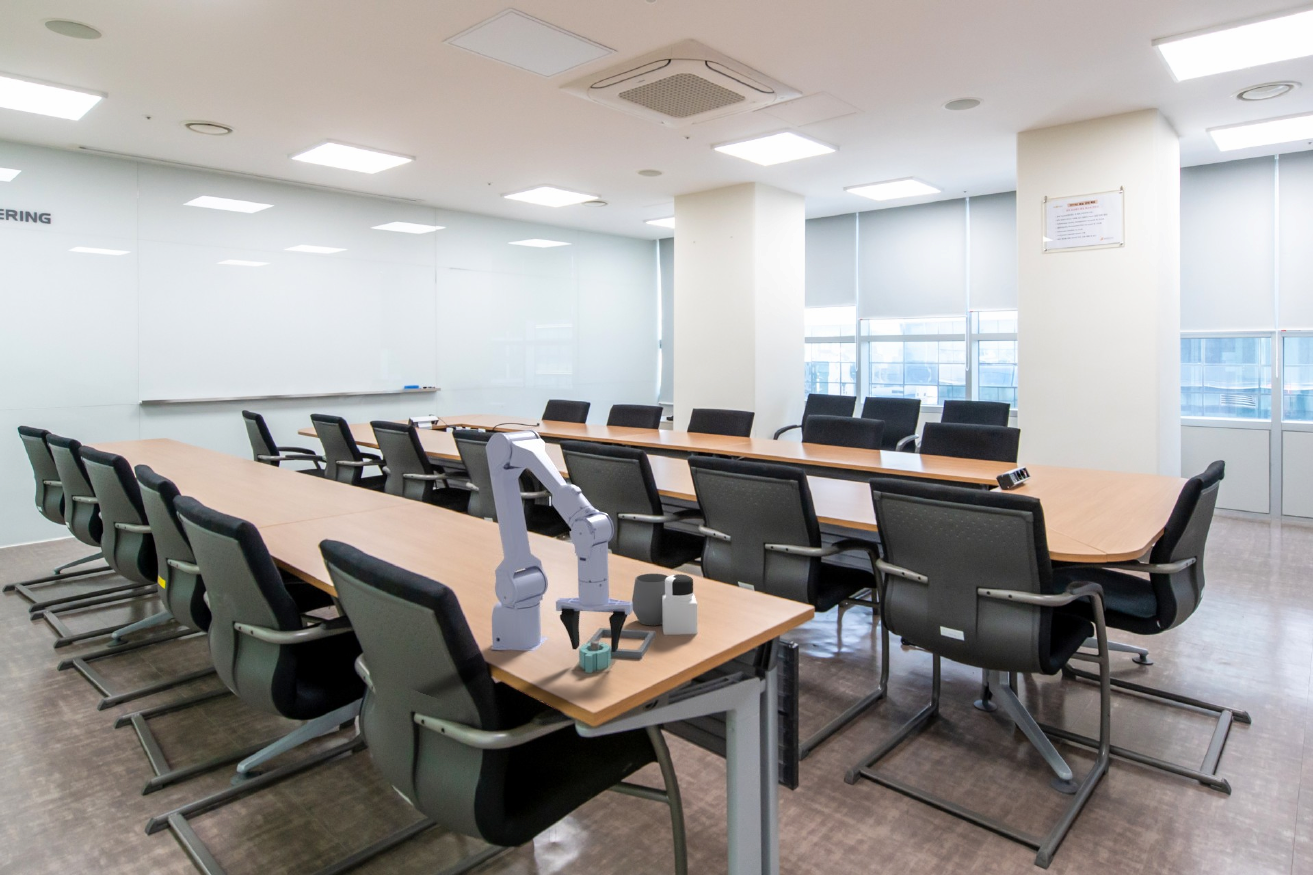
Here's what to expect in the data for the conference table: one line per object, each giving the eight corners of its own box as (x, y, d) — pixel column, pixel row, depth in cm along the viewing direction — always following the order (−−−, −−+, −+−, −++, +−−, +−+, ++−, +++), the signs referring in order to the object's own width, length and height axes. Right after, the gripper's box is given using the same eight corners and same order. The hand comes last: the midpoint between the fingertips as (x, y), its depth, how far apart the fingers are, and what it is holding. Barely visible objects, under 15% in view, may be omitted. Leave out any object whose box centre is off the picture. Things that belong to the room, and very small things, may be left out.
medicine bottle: (694, 625, 168) (694, 571, 166) (697, 636, 160) (697, 580, 159) (662, 626, 167) (661, 572, 166) (663, 637, 160) (663, 581, 159)
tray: (582, 656, 150) (582, 648, 150) (600, 636, 162) (599, 627, 161) (641, 661, 147) (641, 652, 147) (655, 639, 159) (655, 631, 159)
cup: (637, 630, 165) (636, 585, 164) (627, 617, 174) (626, 574, 173) (679, 626, 167) (678, 581, 166) (667, 613, 176) (666, 570, 175)
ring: (585, 657, 148) (585, 641, 148) (613, 659, 147) (613, 643, 146) (574, 671, 141) (573, 654, 141) (603, 673, 140) (602, 656, 140)
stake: (571, 673, 142) (571, 648, 142) (583, 659, 149) (582, 635, 148) (607, 675, 140) (607, 650, 140) (618, 661, 147) (617, 637, 147)
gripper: (549, 582, 141) (551, 654, 142) (625, 585, 138) (626, 658, 139) (562, 572, 148) (564, 640, 149) (634, 575, 144) (636, 645, 146)
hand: (595, 648), depth 144 cm, fingers open, 7 cm apart
